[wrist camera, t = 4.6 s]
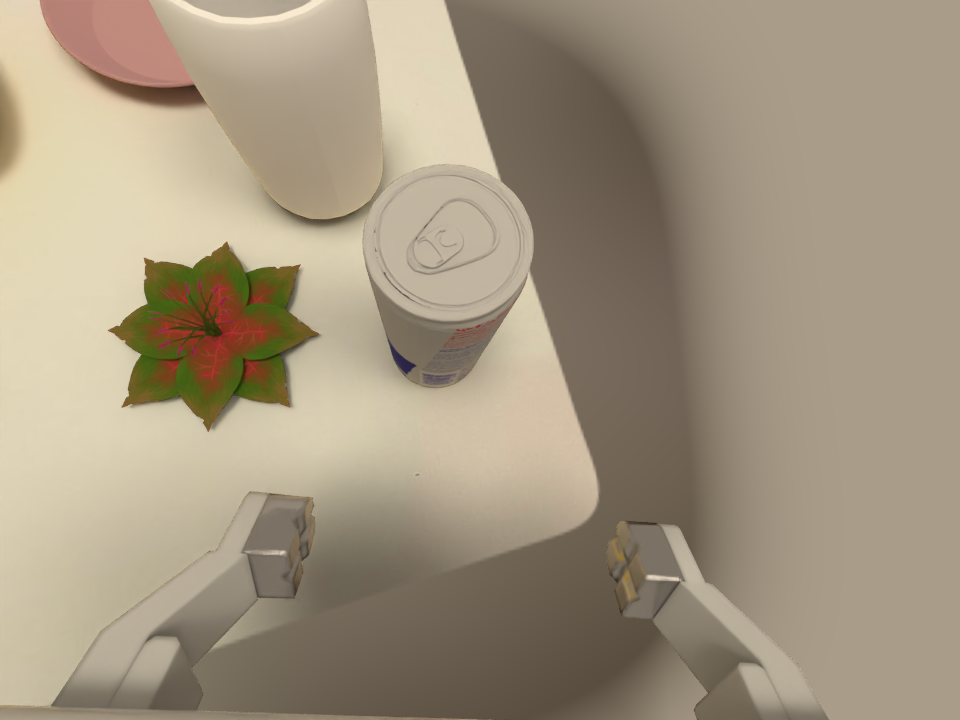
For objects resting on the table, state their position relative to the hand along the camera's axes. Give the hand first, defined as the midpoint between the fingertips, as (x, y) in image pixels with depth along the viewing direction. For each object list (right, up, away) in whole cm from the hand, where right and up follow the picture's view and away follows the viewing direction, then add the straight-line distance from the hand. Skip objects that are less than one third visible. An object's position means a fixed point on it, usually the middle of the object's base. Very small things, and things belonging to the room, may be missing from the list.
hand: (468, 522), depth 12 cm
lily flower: (-16, +6, +15) cm, 23 cm away
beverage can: (-3, +5, +17) cm, 18 cm away
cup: (-10, +17, +18) cm, 27 cm away
